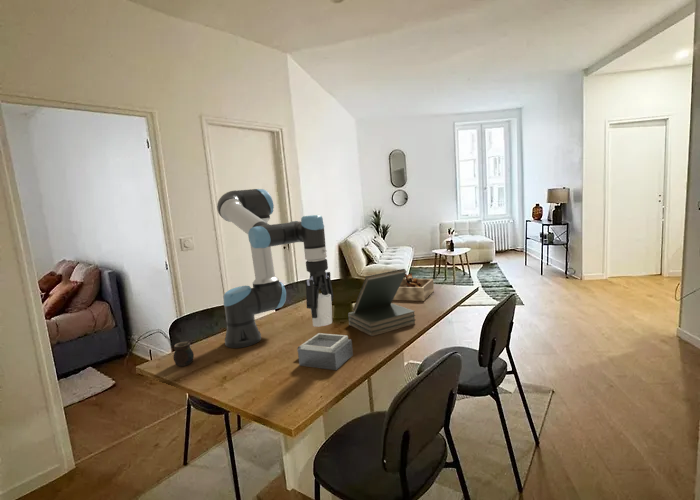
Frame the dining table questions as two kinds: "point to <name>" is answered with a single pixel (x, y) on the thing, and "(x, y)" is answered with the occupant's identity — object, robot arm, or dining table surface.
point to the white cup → (325, 309)
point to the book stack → (380, 305)
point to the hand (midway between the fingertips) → (322, 322)
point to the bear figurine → (411, 281)
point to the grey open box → (325, 351)
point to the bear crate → (415, 290)
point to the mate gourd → (183, 354)
